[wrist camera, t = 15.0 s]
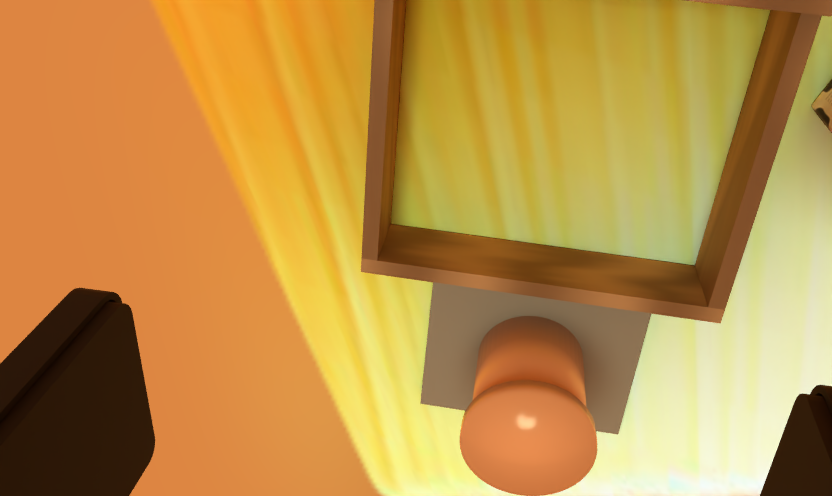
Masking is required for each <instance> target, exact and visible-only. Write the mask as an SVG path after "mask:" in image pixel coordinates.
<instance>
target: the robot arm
mask: <svg viewBox="0 0 832 496" xmlns="http://www.w3.org/2000/svg"><path fill="white" fill-rule="evenodd" d="M154 447H155V436H154V430H153V425H152V419H151V414H150V408H149V403H148V397H147V392H146V386H145V381H144V375H143V370H142V364H141V359H140V353H139V348H138V342H137V337H136V331H135V326H134V320H133V315H132V311H131V308H130V307H129V305H127V304H123V303H122V301H121V298H120V297H119V295H118V294H116V293H114V292H108V291H100V290H93V289H85V288H76V289H74V290H72V291H71V292H70V293H69V294H68V295H67V296H66V297H65V298H64V299H63V300H62V301H61V302H60V303H59V304H58V305H57V306H56V307H55V308H54V309H53V310H52V311H51V312H50V313H49V314H48V315H47V316H46V317H45V318H44V320H43V321H42V322H41V323H39V325H38V326H37V327H36V328H35V329H34V330H33V331H32V332H31V333H30V334H29V335H28V336H27V337H26V338H25V339H24V340H23V341H22V342H21V343H20V344H19V345H18V346H17V347H16V348H15V349H14V350H13V351H12V352H11V353H10V354H9V356H7V358H6V359H5V360H4V361H3V362H2V363H1V364H0V496H129V495H130V493H131V492H132V490H133V489H134V487H135V485H136V484H137V482H138V480H139V479H140V477H141V476H142V473H143V472H144V471H145V469H146V467H147V466H148V464H149V462H150V460H151V458H152V455H153V451H154ZM760 496H832V386H825V385H817V386H816V387H815V388H814V389H813V390H812V392H811V394H810V395H809V394H799V396H798V397H797V398H796V400H795V402H794V405H793V408H792V411H791V413H790V416H789V419H788V421H787V424H786V427H785V430H784V432H783V435H782V438H781V440H780V443H779V446H778V448H777V451H776V454H775V457H774V459H773V462H772V465H771V467H770V470H769V473H768V475H767V478H766V481H765V484H764V486H763V489H762V492H761V494H760Z"/></svg>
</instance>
